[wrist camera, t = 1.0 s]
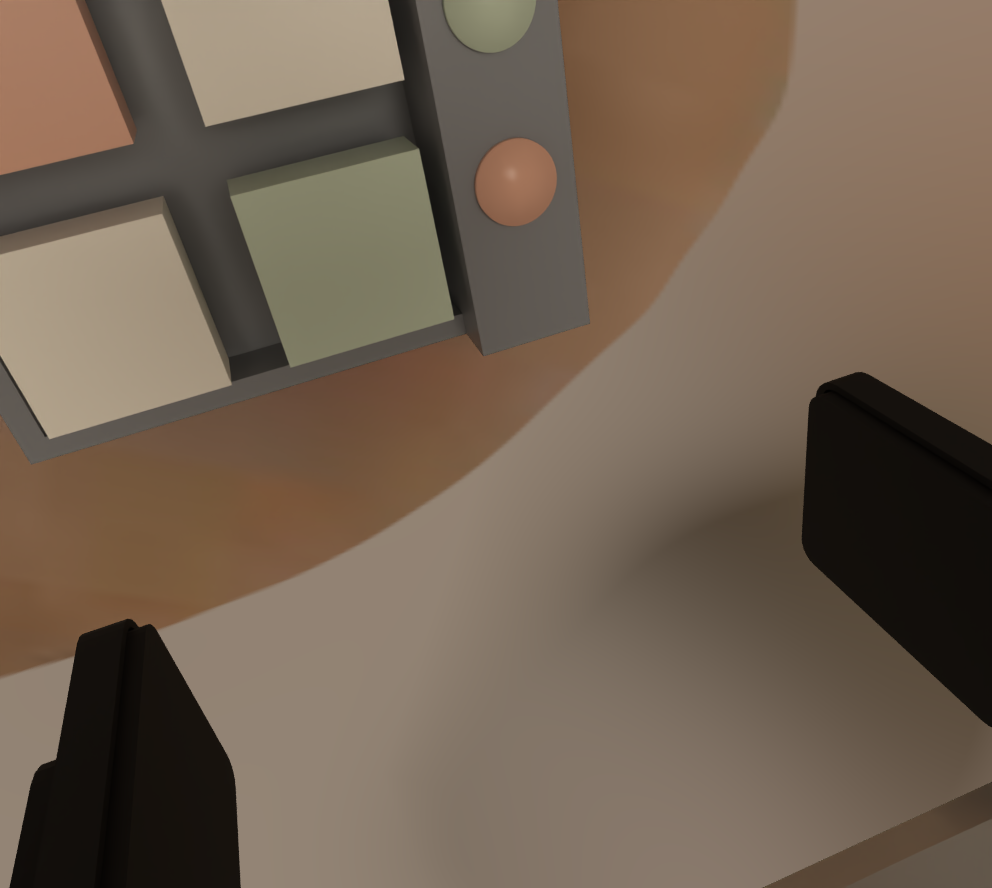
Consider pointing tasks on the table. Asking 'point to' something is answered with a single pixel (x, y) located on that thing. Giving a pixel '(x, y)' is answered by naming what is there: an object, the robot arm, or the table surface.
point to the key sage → (344, 248)
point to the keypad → (326, 130)
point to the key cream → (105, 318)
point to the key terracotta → (56, 86)
